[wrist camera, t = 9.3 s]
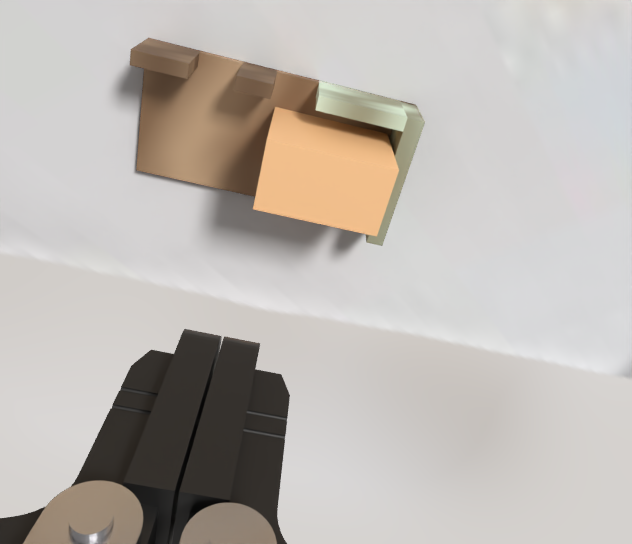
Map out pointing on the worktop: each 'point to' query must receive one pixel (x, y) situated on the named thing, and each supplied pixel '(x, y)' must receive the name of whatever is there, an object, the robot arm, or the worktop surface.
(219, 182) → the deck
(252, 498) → the robot arm
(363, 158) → the block
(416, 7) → the worktop surface
